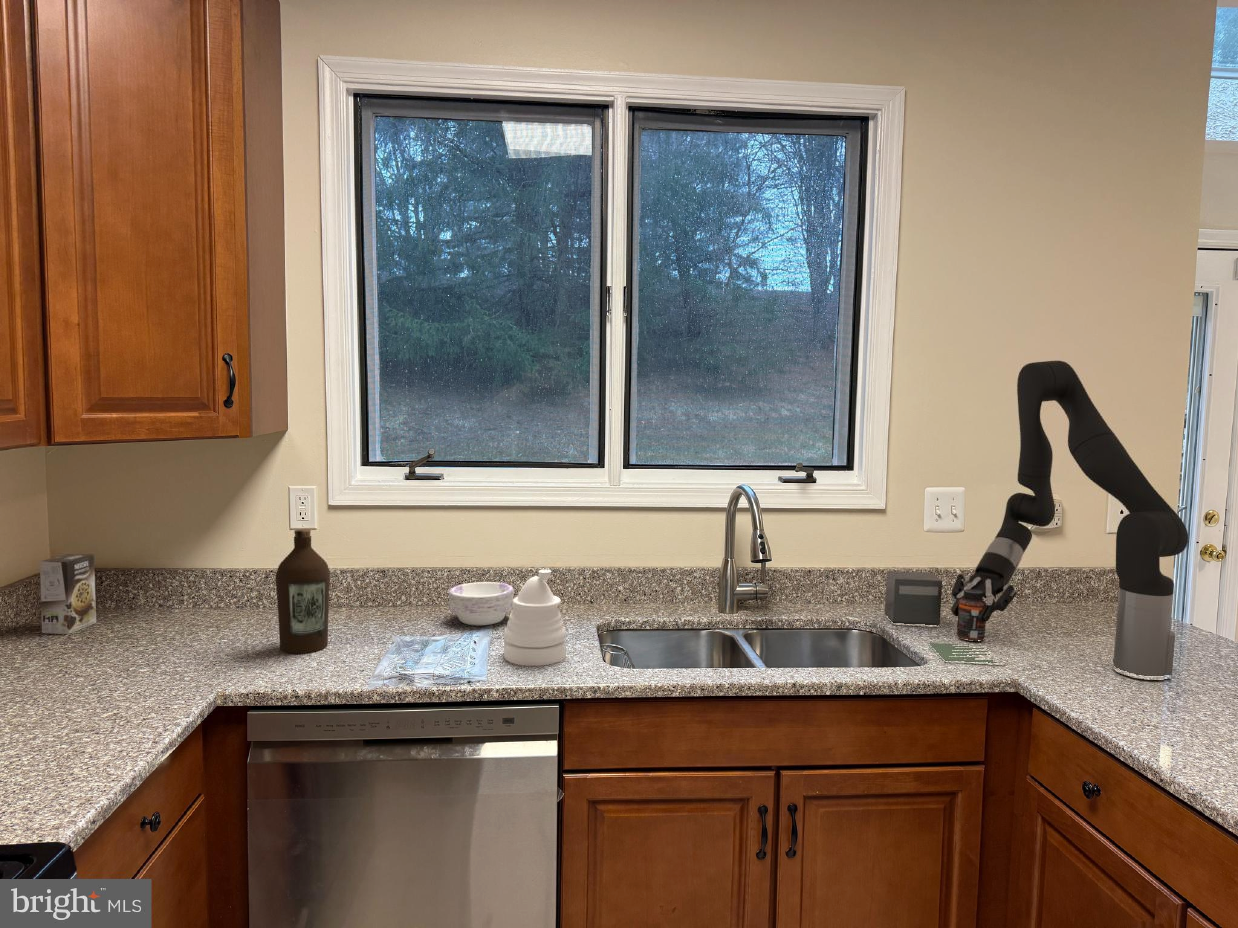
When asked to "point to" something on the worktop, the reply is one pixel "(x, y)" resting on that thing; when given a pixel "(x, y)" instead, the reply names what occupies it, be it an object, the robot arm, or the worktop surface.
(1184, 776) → the worktop surface
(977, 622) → the supplement bottle
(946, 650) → the sage mat
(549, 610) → the honey pot
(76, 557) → the coffee box
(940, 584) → the charcoal unit
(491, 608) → the white and purple bowl
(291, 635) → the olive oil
